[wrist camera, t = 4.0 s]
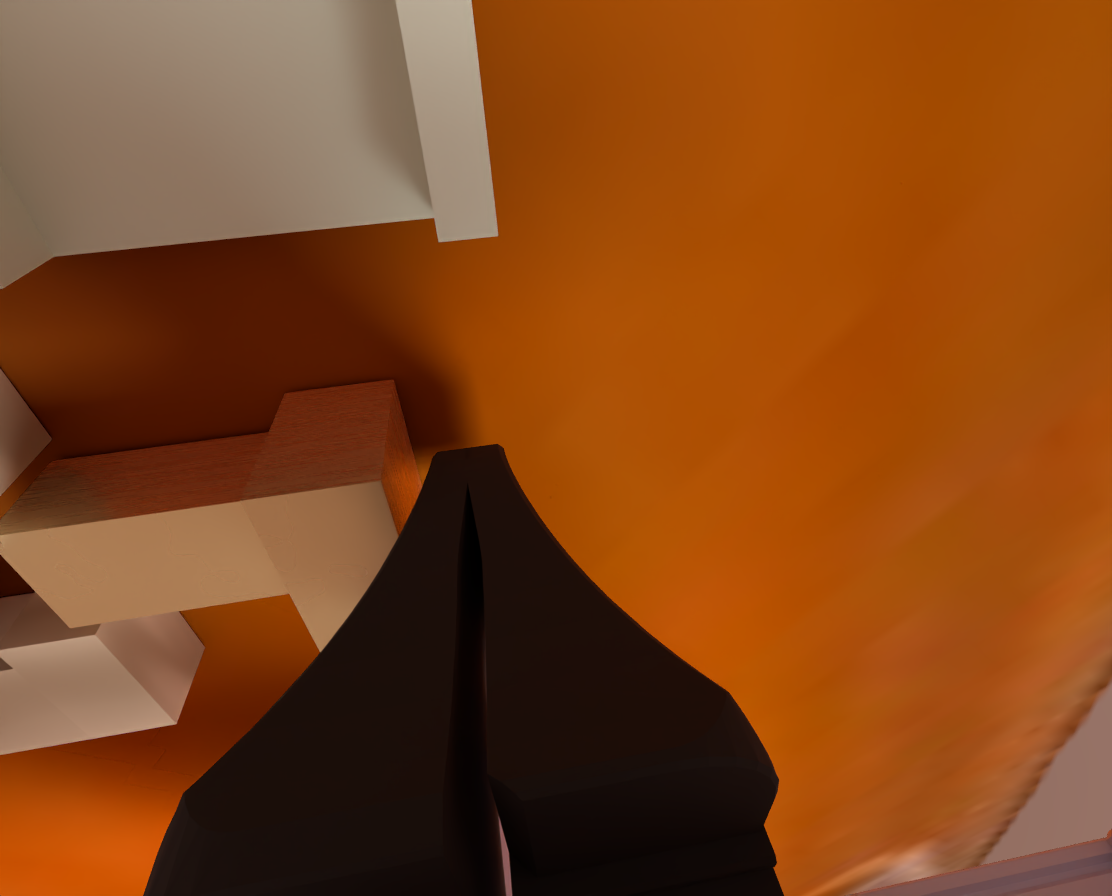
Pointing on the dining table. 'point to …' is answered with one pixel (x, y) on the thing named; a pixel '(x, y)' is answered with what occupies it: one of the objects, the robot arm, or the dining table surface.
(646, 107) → the dining table surface
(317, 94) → the pad
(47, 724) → the socket block
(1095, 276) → the dining table surface
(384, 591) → the robot arm
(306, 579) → the block
